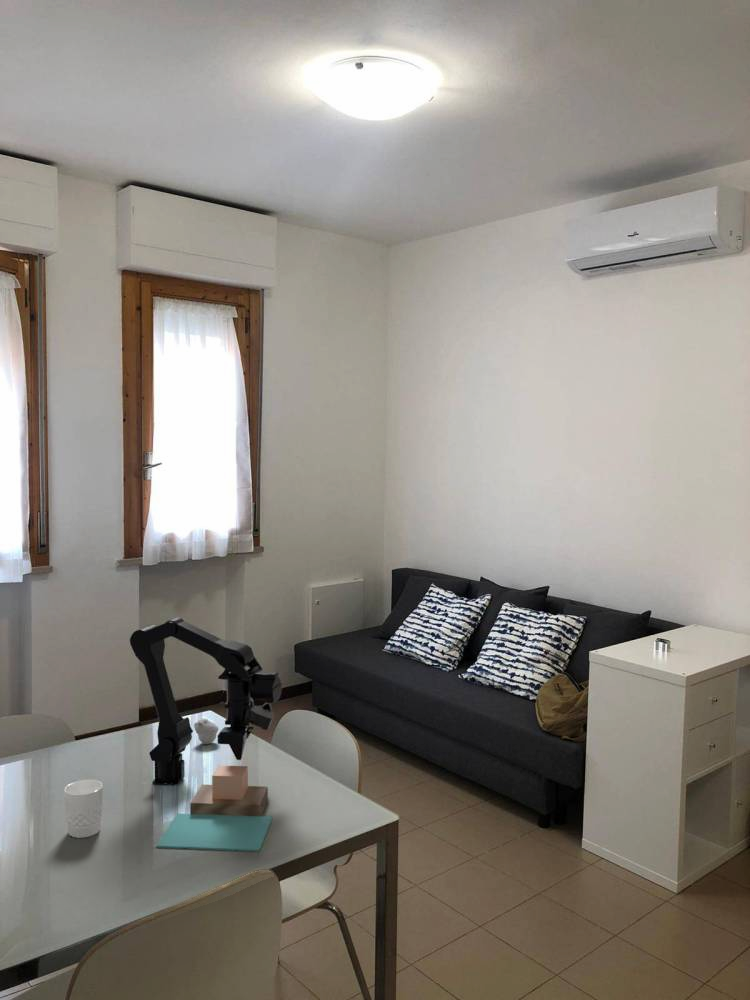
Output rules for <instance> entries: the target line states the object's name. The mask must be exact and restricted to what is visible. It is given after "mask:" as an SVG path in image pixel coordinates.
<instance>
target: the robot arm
mask: <svg viewBox="0 0 750 1000" xmlns="http://www.w3.org/2000/svg"><path fill="white" fill-rule="evenodd" d="M170 637H173V638H174V639H176V640H178V641H181V642H183V643H185V644H186V645H188V646H190V647H193V648H194V649H197V650H198V651H201V652H202V653H205V654H206V655H209V656H211V657H212V658H213V659H214V660H215V661H216V663H217V664H218V665H219V666H221V667H222V668H223V669H224V670H223V672H222V673H220V674H219V675H218V679H219V680H224V681H225V680H226V702H225V703H224V708H225V709H226V719H225V721H224V727H223V728H222V729H220V731H219V733H218V734H217V744H218V745H228V746H229V747H230V749H231V751H232V753H233V755H234V758H235V759H236V761H241V760H242V758H243V754H244V749H245V744H246V742H247V741H246V740H247V739H248V738H249V737H250V735H251V733H252V732H253V730H254V727H253V726H250V725H251V724H252V725H254V726H256V727H259V728H260V729H262V730H265V731H268V730H269V728H270V727H271V725H272V722H273V719H274V717H275V711H274V710H273V706H272V704H271V703H270V702H275V703H276V702H278V701H279V700H280V698H281V697H282V696H281V695H282V690H283V684H282V682H281V679H280V677H279V672H278V671H272V672H269V671H268V672H267V671H264V670H263V667H262V666H261V664H260V663H259V661H258V660H257V658H256V657H255V655H254V651H253V648H252V647H251V646H250V645H248V644H246V643H242V642H238V641H235V640H226V639H222V638H220V637H218V636H216V635H213V634H211V633H209V632H208V631H206V630H203V629H201V628H199V627H197V626H195V625H194V624H191V623H189V622H187V621H185V620H184V619H183V618H181V617H174V618H171V619H169V620H166V622H164V623H163V624H159V625H155V624H149V625H147V626H144V627H142V628H140V629H137V630H135V631H133V633H132V634H131V636H130V638H129V644H130V646H131V649H132V652H133V654H134V656H135V657H136V658H137V660H139V662H140V663H141V664H142V665H143V667H144V670H145V674H146V676H147V678H146V679H147V681H148V684H149V687H150V692H151V696H152V699H153V702H154V706H155V709H156V714H157V716H158V727H157V732H156V734H157V741H158V743H157V745H156V746H155V747H154V748H152V750H151V751H150V752H149V756H150V759H151V761H152V762H154V779H153V780H152V782H151V783H152V784H154V785H174V786H175V785H179V784H180V782H181V780H182V779H183V778H184V777H185V775H186V774H185V768H186V767H185V760H184V759H183V753H182V752H184V751H185V750H186V748H187V746H188V745H189V744H190V743H191V741H192V738H193V736H192V735H193V734H192V733H193V732H194V730H193V728H192V727H191V723H190V719H189V717H188V716H187V717H182V716H181V714H180V713H179V711H178V708H177V704H176V701H175V697H174V693H173V689H172V685H171V683H170V678H169V676H168V671H167V668H166V665H165V660H164V654H165V648H166V643H165V639H168V638H170ZM247 667H248V669H246V668H247ZM254 700H256V701H267V702H265V703H264V704H263V705H262V706H261V705H254V702H255V701H254ZM225 725H226V726H225Z"/></svg>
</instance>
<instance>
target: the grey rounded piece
mask: <svg viewBox="0 0 750 1000" xmlns="http://www.w3.org/2000/svg"><path fill="white" fill-rule="evenodd" d="M193 727H194V731H195V733H196V734H197V736H198V739H199V741H200V742H201V743H202V744H204V745H210V744H212V743H213V742H214V741H215V740H216V738H217V733H218V731H219V730H220V729H219V726H218V725H216V724H215V723H214V722H212V721H210V720H209V719H208V718H200V719H199V720H198V721H195V723H193Z"/></svg>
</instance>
